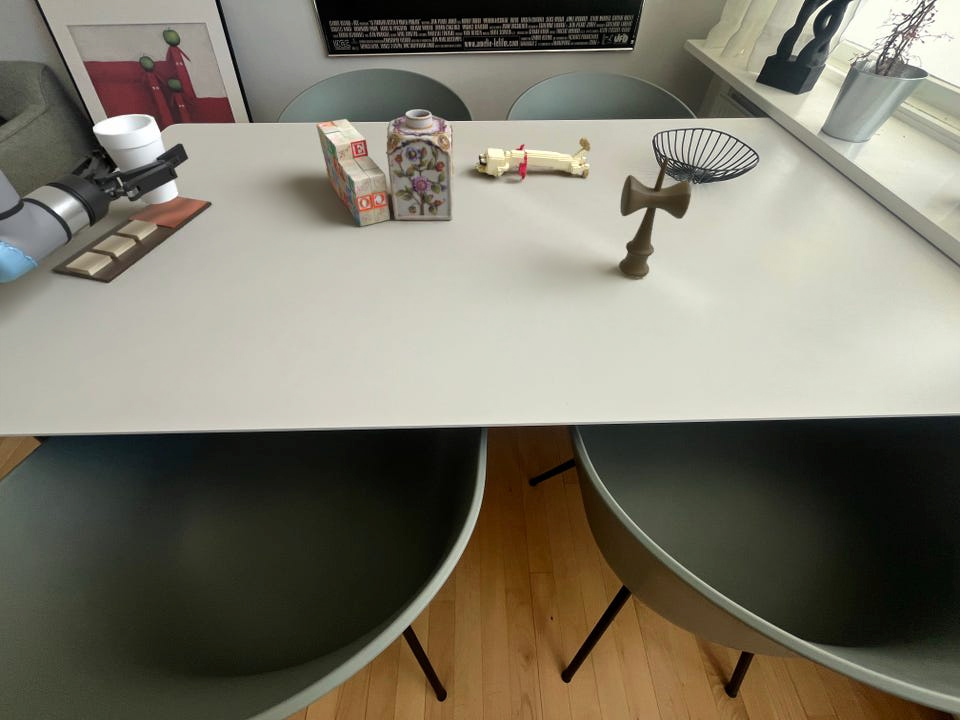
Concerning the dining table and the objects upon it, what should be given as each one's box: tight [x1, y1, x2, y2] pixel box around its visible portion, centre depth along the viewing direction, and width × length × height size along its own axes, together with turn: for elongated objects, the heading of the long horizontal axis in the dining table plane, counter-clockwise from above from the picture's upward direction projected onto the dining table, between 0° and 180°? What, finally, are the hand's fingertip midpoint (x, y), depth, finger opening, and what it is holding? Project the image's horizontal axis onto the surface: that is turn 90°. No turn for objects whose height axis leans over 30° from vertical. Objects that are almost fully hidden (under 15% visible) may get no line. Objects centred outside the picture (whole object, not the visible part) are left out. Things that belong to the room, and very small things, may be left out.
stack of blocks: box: [315, 118, 391, 227], centre depth 95 cm, size 21×6×12 cm, turn 29°
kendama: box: [618, 156, 692, 278], centre depth 76 cm, size 6×10×20 cm, turn 83°
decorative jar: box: [385, 108, 455, 221], centre depth 91 cm, size 12×12×18 cm
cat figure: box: [475, 137, 591, 180], centre depth 106 cm, size 10×9×25 cm
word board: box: [52, 195, 213, 284], centre depth 88 cm, size 11×27×2 cm, turn 165°
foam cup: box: [92, 113, 179, 205], centre depth 86 cm, size 10×9×13 cm
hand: (158, 148), depth 89 cm, fingers closed on foam cup, 9 cm apart
